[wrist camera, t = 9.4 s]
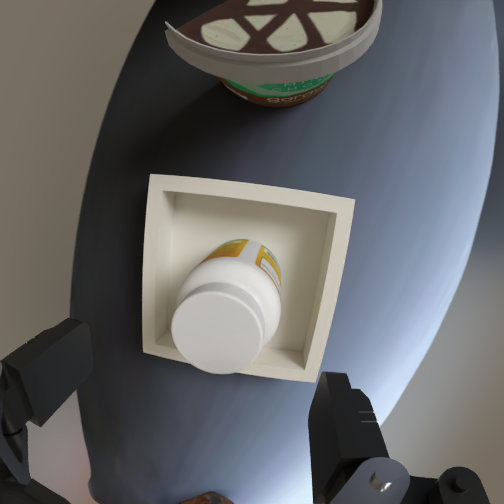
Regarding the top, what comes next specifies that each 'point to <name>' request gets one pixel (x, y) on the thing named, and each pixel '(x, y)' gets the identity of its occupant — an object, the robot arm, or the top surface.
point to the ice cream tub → (277, 45)
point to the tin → (209, 499)
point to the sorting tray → (258, 229)
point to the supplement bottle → (228, 307)
